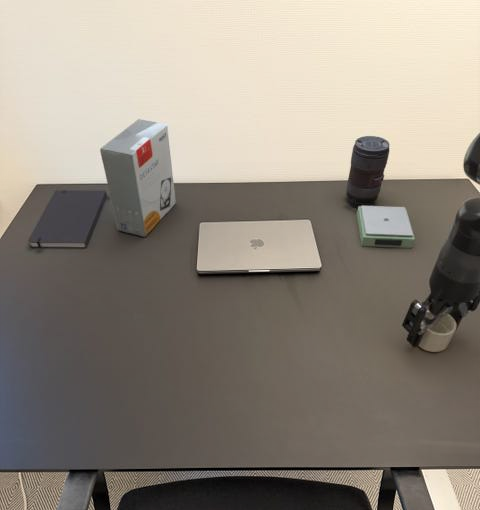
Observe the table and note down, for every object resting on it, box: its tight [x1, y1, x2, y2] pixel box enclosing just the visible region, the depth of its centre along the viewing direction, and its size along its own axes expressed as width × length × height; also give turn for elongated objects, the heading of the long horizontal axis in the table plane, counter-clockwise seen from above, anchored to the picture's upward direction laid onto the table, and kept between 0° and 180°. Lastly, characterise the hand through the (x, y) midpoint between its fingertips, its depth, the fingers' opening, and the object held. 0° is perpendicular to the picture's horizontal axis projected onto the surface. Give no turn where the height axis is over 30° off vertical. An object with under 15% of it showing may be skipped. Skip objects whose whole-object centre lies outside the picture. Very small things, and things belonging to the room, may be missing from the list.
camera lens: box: [345, 135, 390, 209], centre depth 110 cm, size 8×8×15 cm
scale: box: [356, 205, 416, 249], centre depth 106 cm, size 11×12×3 cm
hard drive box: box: [99, 118, 177, 238], centre depth 104 cm, size 16×8×20 cm, turn 158°
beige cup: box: [418, 309, 457, 353], centre depth 82 cm, size 6×6×5 cm
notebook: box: [27, 189, 108, 249], centre depth 110 cm, size 13×2×21 cm
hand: (431, 335), depth 83 cm, fingers open, 8 cm apart
